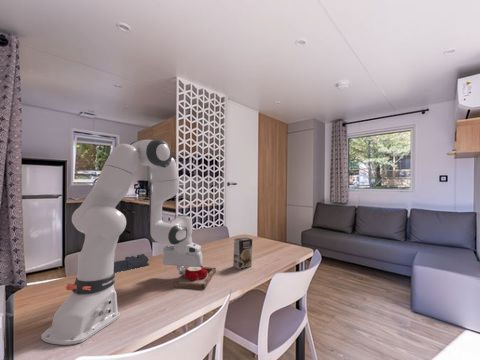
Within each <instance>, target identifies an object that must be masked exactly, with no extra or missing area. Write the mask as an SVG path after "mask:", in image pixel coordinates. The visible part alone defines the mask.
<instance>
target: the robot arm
mask: <svg viewBox="0 0 480 360" xmlns="http://www.w3.org/2000/svg"><path fill="white" fill-rule="evenodd" d="M140 166H146V167H150V168H151V170H152V172H153V173H152V174H153V189H152V191H151V193H150V196H149V205H148V206H149V208H148V211H149V212H148V224H147V225H148V226H147V229H146V236H147V238H148V240H149V241H150V242H151V243H156V244H157V243H159V244H164V245H165V244H166V246H165V247H164V246H163V256H162V264H163V265H164V266H176V268H177V270H178V275H182V276H184V275H185V273H186V269H187V268H188V266H190V267H200V266H203V263H204V261H203V253H202V252H203V251H201V249H202V246H201V245H199V244H198V243H195V242H193V238H192V234H193V220H192V219H193V218H192V217H191V216H190V215H185V214H177V215H176V217H175V219H174V220H173V221H172V222H171V221H170V222H164V221H163V220H162V219H163V216H162V214H163V204H164V203H165V202H167V200H169V199H172V198H173V197H175V196H176V195H177V194H178V192H179V189H180V180H179V177H180V176H179V170H178V166H177V163H176V160H175V158H174V157H173V154H172V149H171V147H170V145H169V144H168V142H166V141H165V140H160V139H141V140H135V141H133V142H131V143H120V144H119V143H118V145H116V146H115V147H114V149H112V151H111V152H110V154H109V155H108V157H107V159H106V160H105V162H104V165H103V167H102V169H101V171H100V173H99V176H98V178H97V180H96V182H95V184H94V186H93V188H92V189H91V190H90V192H89V193H88V195H87V196H86V197H85V198H84V200H83V202H82V203H81V204H80V206H79V207H77V208H76V209H75V210H74V212H72V215H71V223H72V225H73V226H74V228H75V229H76V230H77V231H79V232H80V233H82V234H84V240H83V241H84V242H83V244H82V247H81V251H80V252H79V253H78V256H77V273H76V274H77V277H75V280H74V283H67V284H66V286H65V290H66V291H71V293H70V294H69V295H68V296H67V298H66V299H65V300H64V301H63V303H62V304H61V305H60V306H59V308H57V310H56V312H54V315H53V317H52V323H51V326H49V327H48V328H47V329H46V330H45V331H44V332H43V333H42V334H41V335H40V338H41V340H42V341H43V342H45V343H48V344H53V345H63V346H64V345H65V346H67V345H69V346H70V345H76V344H79V343H83V342H84V341H86V340H87V339H89V338H90V337H93V335H96V334H97V333H98V332H99V331H101V330H103V329H104V328H106V327H107V326H108V325H111V324H112V323H114V322H115V321H116V320H118V319H119V318H120V317H121V313H120V312H119V311H118V300H117V299H118V298H117V297H118V296H117V291H116V290H115V286H114V284H115V283H116V282H115V281H116V273H115V272H114V262H115V253H116V247H117V244H118V241H119V238H120V236H121V235H122V234H123V233H124V231H125V229H126V226H127V218H126V216H125V214H124V213H122V211H120V210H119V209H117V208H116V207H117V205H119V203H120V202H121V201H122V200H123V199H124V198H125V197H126V196H127V194H128V193H129V189H130V187H131V185H132V183H133V180H134V178H135V174H136V173H137V170H138V168H139V167H140ZM182 267H184V268H183V269H182Z"/></svg>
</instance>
